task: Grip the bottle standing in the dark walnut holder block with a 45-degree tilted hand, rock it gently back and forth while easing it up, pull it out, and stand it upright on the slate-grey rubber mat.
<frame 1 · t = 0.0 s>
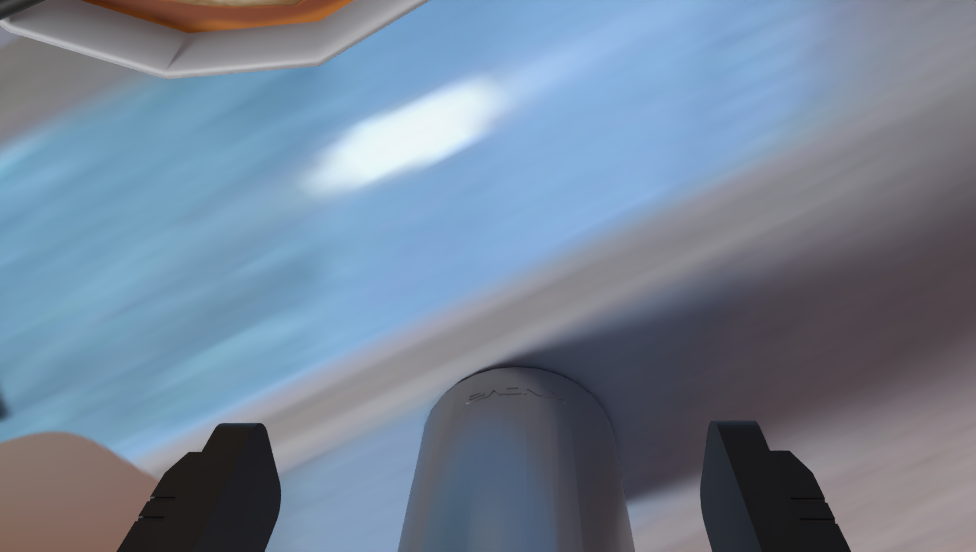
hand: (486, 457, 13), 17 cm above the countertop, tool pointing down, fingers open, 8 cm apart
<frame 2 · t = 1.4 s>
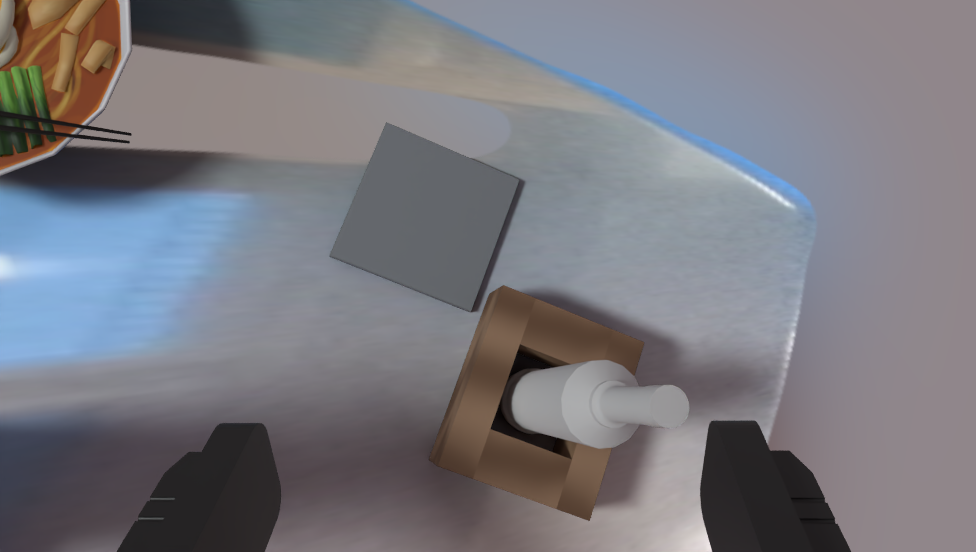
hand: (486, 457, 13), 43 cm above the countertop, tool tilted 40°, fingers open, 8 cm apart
bottle: (527, 400, 58), on the countertop
slate mat: (427, 217, 58), on the countertop
walnut holder: (527, 400, 58), on the countertop
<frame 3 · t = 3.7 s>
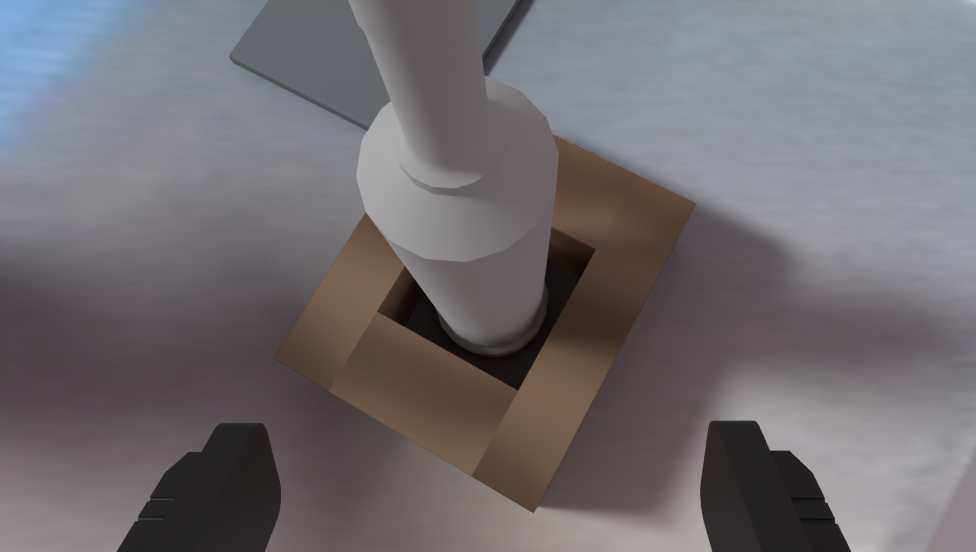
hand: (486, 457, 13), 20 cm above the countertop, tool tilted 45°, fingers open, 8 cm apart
bottle: (493, 308, 34), on the countertop
slate mat: (384, 20, 38), on the countertop
walnut holder: (493, 307, 34), on the countertop
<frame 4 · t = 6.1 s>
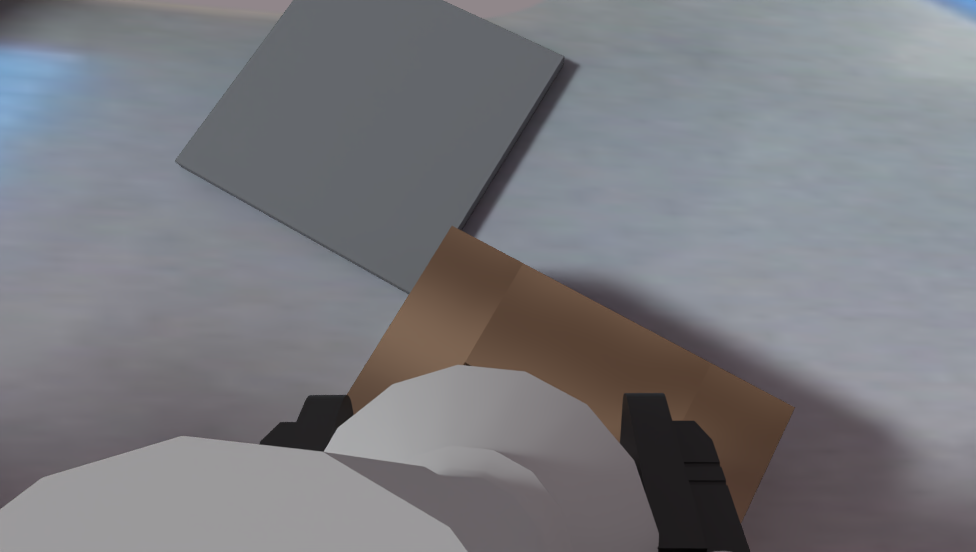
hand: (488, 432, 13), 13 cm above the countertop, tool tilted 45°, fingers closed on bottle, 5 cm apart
bottle: (510, 508, 26), on the countertop, touching gripper
slate mat: (373, 115, 30), on the countertop
walnut holder: (509, 508, 26), on the countertop
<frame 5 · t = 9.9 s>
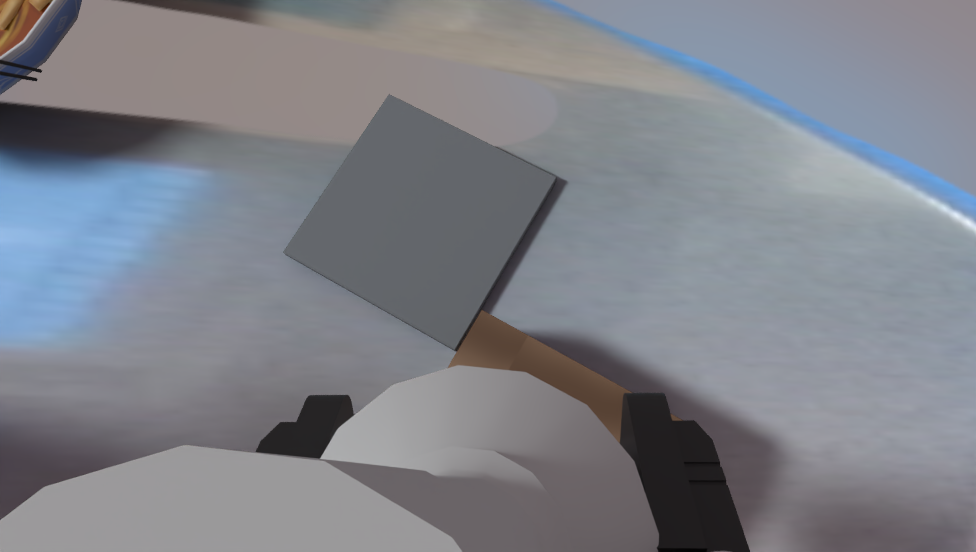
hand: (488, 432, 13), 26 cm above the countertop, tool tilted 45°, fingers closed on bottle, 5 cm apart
bottle: (510, 507, 26), point 13 cm above the countertop, touching gripper
slate mat: (421, 218, 43), on the countertop
walnut holder: (519, 494, 38), on the countertop
when the fingers open (15 cm above the countertop, at t = 14.0 s): bottle drops 1 cm, resting on slate mat.
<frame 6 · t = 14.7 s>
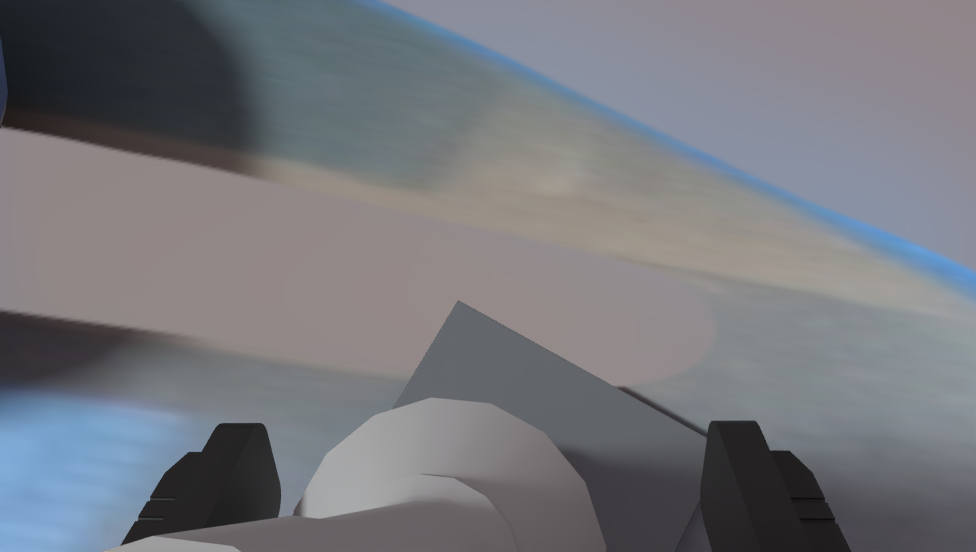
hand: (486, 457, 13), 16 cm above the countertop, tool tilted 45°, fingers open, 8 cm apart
bottle: (508, 512, 27), resting on slate mat
slate mat: (512, 506, 28), on the countertop
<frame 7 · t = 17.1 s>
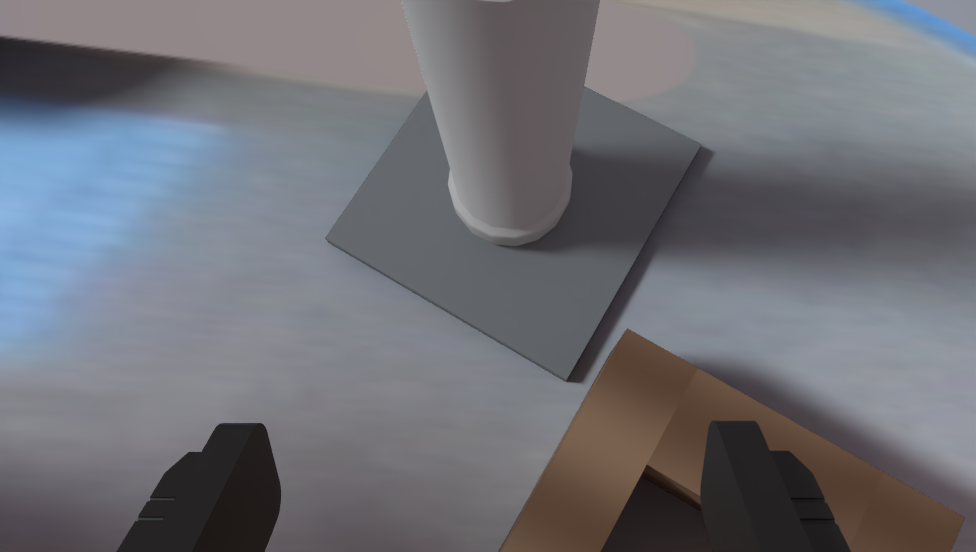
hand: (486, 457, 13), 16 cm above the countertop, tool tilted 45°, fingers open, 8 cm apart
bottle: (510, 196, 31), resting on slate mat
slate mat: (514, 196, 32), on the countertop
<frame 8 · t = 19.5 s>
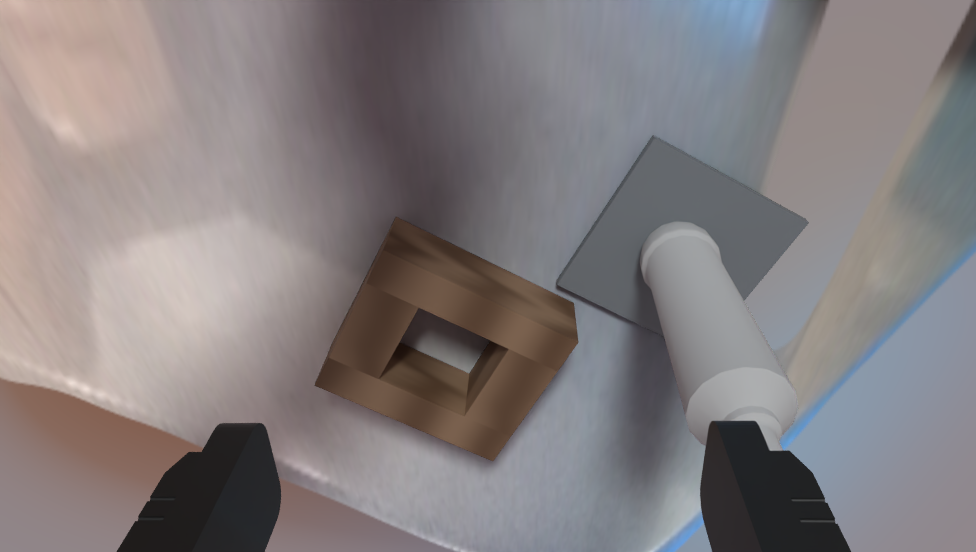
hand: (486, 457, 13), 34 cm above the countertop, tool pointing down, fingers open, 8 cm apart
bottle: (675, 251, 48), resting on slate mat
slate mat: (677, 250, 48), on the countertop
walnut holder: (449, 324, 52), on the countertop
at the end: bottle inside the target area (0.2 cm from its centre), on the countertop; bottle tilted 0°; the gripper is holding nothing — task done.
